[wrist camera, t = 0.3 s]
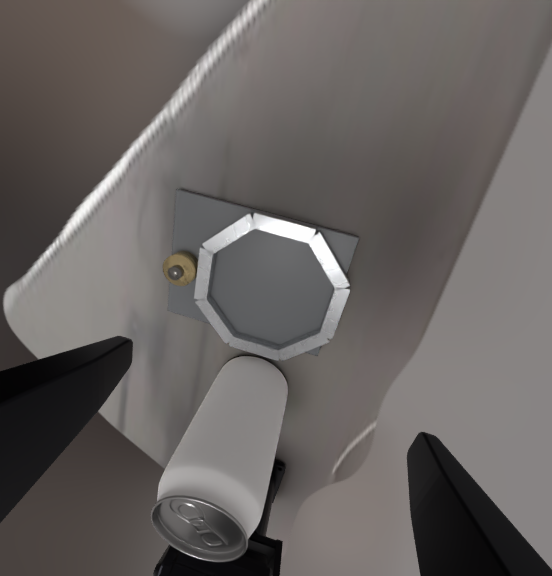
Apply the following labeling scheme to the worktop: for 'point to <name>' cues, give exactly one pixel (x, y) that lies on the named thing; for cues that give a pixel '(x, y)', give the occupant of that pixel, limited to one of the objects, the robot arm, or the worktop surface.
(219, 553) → the can
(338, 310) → the socket
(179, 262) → the brass round knob
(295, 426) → the worktop surface
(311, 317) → the carrier plate
